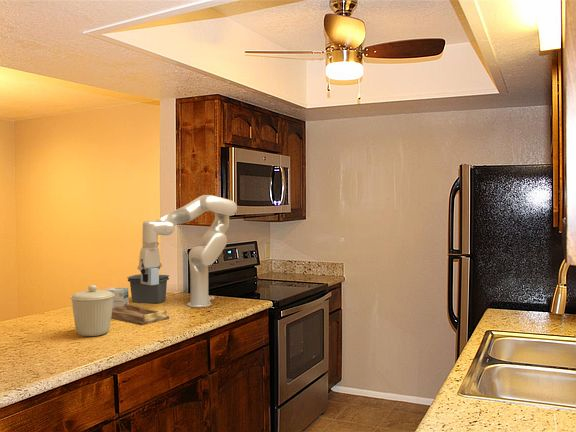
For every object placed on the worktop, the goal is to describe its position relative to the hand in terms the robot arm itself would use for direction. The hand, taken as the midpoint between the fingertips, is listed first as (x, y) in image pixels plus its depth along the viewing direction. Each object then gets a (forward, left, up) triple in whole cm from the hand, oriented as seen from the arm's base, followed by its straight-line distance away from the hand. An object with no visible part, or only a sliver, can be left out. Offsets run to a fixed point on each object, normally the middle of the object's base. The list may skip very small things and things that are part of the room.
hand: (149, 280), depth 276 cm
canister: (+43, +15, -16) cm, 48 cm away
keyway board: (+13, +5, -16) cm, 21 cm away
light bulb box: (+6, -19, -16) cm, 26 cm away
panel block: (0, 0, -2) cm, 2 cm away
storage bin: (-17, -21, -16) cm, 32 cm away
